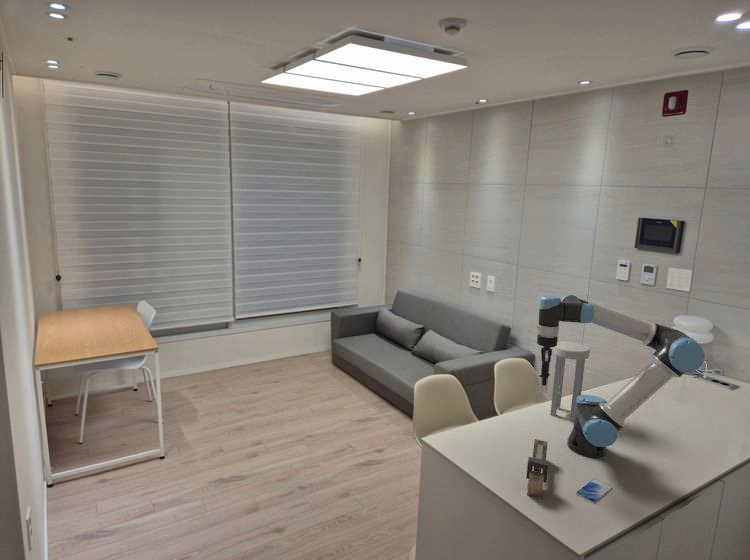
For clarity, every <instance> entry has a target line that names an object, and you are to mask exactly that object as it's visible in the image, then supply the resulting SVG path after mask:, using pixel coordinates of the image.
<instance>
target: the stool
mask: <svg viewBox="0 0 750 560" xmlns="http://www.w3.org/2000/svg"><path fill="white" fill-rule="evenodd" d="M553 353H554V354H555V356H556V357H555V364H554V377H553V386H552V396H551V405H550V414H549V415H550V416H552V417H556V416H557V413H558V409H559V410H560V409H561V404H562V402H561V401H562V395H563V386H564V385H563V384H564V375H565V366H566V359H569V360H576V361H575V371H574V377H573V378H574V379H573V387H572V388H573V389H572V397H571V405H570V415H569V421H570V422H574V419H575V410H576V401H577V397H578V396H580V395H582V392H583V391H582V390H583V382H584V372H585V363H586V360H587V359H589V357H590V353H591V348H589V347H588V346H587V345H584V344H582V343H579V342H573V341H559V342H558V341H557V346H555V347H553Z"/></svg>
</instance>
